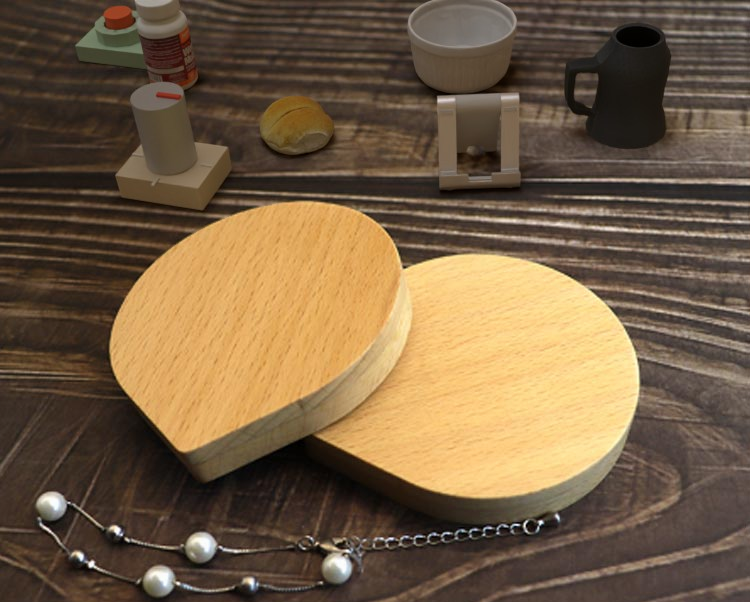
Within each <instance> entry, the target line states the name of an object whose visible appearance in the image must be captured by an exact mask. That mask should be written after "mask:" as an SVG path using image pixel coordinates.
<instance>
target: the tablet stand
mask: <svg viewBox="0 0 750 602" xmlns="http://www.w3.org/2000/svg"><path fill="white" fill-rule="evenodd" d="M520 104H521V103H520V92H517V91H515V92H498V93H494V92H493V93H469V94H450V95H449V94H448V95H436V107H437V108H436V110H437V111H436V112H437V113H436V114H437V139H438V140H437V142H438V183H439V184H438V186H439V191H453V190H472V189H477V190H478V189H499V188H500V189H502V188H507V189H512V188H520V187H521V179H522V177H521V176H522V173H521V171H520ZM499 131H500V171H497V172H491V175H479V176H469V173H458V154H463V153H464V154H465V153H467V152H468V149H469V147H479V146H481V147H483V150H484V153H487V152H489V153H490V152H491V153H492V152H496V151H497V150H498V141H499V140H498V139H499Z"/></svg>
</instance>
